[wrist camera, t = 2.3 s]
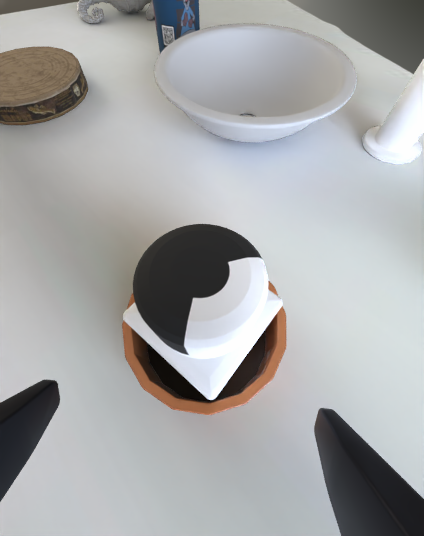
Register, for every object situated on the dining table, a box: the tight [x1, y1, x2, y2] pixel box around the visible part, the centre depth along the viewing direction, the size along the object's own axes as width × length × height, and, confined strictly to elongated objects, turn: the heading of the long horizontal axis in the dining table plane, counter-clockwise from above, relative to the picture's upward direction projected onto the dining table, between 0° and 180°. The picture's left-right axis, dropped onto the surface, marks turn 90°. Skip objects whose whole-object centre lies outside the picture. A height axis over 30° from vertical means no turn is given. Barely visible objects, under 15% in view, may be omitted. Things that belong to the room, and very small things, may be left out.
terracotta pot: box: [122, 281, 286, 415], centre depth 19 cm, size 11×11×4 cm
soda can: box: [152, 0, 200, 53], centre depth 38 cm, size 7×7×12 cm
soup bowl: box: [154, 23, 357, 142], centre depth 32 cm, size 24×24×7 cm
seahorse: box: [77, 0, 155, 24], centre depth 51 cm, size 5×12×20 cm
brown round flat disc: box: [0, 47, 88, 125], centre depth 37 cm, size 16×16×3 cm
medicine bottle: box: [123, 224, 283, 400], centre depth 16 cm, size 7×7×12 cm
